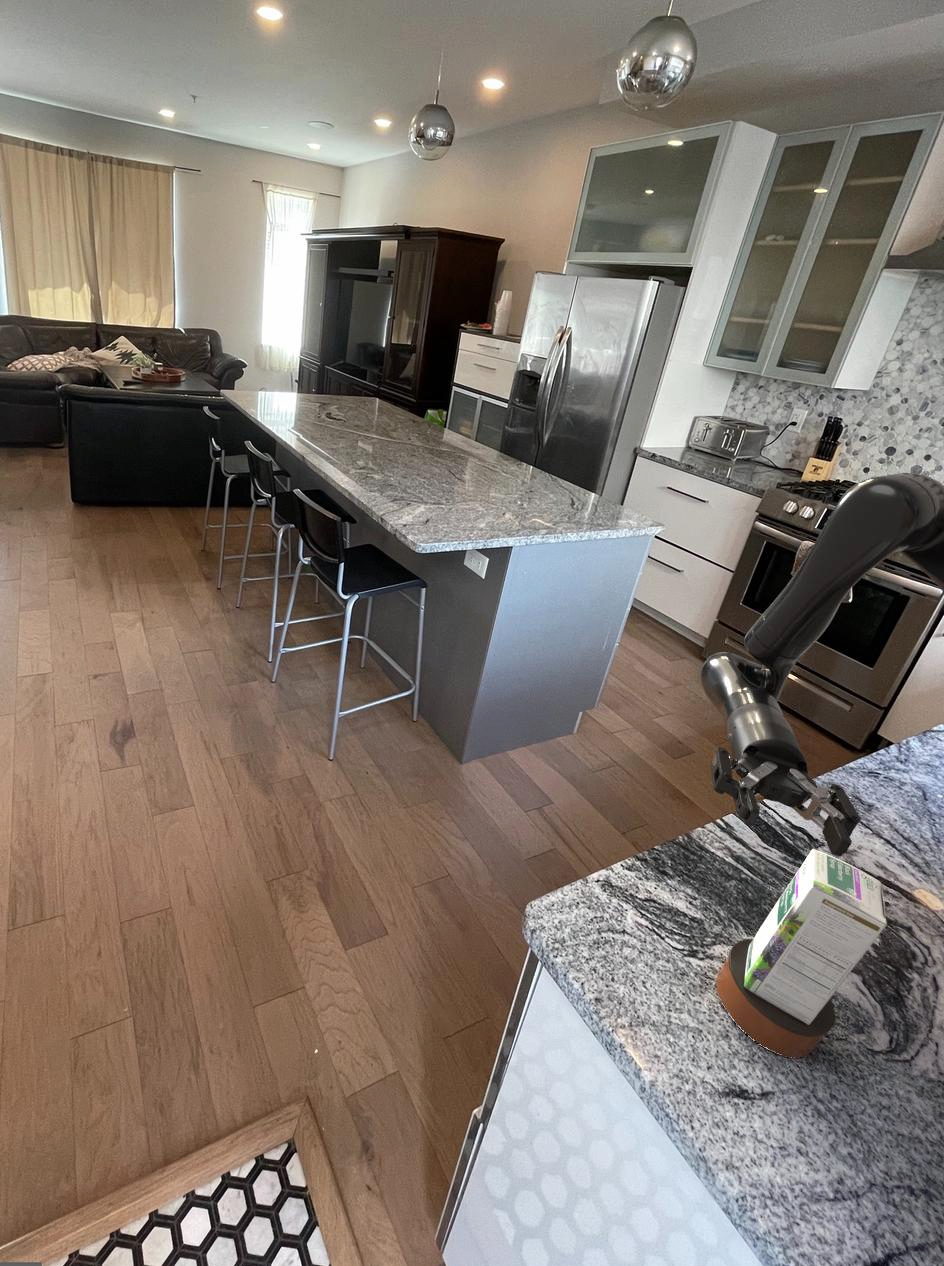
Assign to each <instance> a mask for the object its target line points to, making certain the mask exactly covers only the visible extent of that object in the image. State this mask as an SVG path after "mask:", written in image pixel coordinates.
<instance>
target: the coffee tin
mask: <svg viewBox="0 0 944 1266" xmlns="http://www.w3.org/2000/svg"><path fill="white" fill-rule="evenodd" d="M753 939H754V938H752V939H751V938H750V939H749V938H748V939H742V940H739V941H738V942H736V943H735V944H734V945H733V946H732V947H731V949H730V951H729V954H728V956H727V958H726V959H725V961H724V962H723V965H722V966H721V968H720V969H719V971H718V973H717V975H716V979H715V988H717V989H716V993H717V992H718V993H717V995H718V994H719V997H720V999H721V1001H722V1003H723V1005H724V1006H725V1008H726V1009H727V1010H728V1012H729V1013H730V1015H731V1016H732V1018H733V1019H734V1020H735V1022H736V1023H737V1025H739V1026H740V1027H741V1029H742V1030H744V1032H746V1034H747V1035H749V1036H750V1037H751V1038H752V1039H754V1040H755V1041H756V1042H757V1043H759V1044H761V1045H762V1046H764V1047H767V1048H768V1049H770V1050H773V1051H775V1052H776V1053H779V1054H782V1055H783V1056H787V1057H792V1058H791V1059H801V1058H800V1057H802V1058H805V1057H807V1056H809V1055H811V1053H812V1052H813V1051H814V1049H815V1048H816V1047H817V1045H819V1043H820V1041H822V1039H823V1038H824V1036H825V1035H827V1034H828V1033H829V1032H830V1031H831V1030H832V1028H833V1027H834V1025H835V1022H836V1012H835V1011H836V1010H835V1007H834V1003H833V1001H832V997H831V998H830V999H829V1001H828V1002H827V1003H826V1005H825V1006H824V1007H823V1008H822V1010H821V1011H820V1012H819V1013H818V1015H817V1016H816V1017H815V1019H814V1020H813V1021H812V1023H811V1024H810V1025H808V1024H806V1023H804V1022H802V1021H801V1020H799V1019H797V1018H795V1017H794V1016H792V1015H790V1014H789V1013H787V1012H785V1011H783V1010H782V1009H780V1008H778V1007H776V1006H775V1005H773V1004H771V1003H770V1002H768V1001H766V1000H765V999H763V998H761V997H759V996H758V995H756V994H754V993H753V992H751V991H749V990H748V989H746V988H745V986H744V981H745V970H746V962H747V955H748V949H749V945H750V944H751V942H752V941H753ZM716 986H717V987H716ZM719 997H718V998H719ZM720 999H719V1000H720ZM783 1056H782V1057H783ZM794 1057H795V1058H794Z"/></svg>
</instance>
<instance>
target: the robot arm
mask: <svg viewBox="0 0 944 1266" xmlns="http://www.w3.org/2000/svg"><path fill="white" fill-rule="evenodd" d="M897 552H899V553H900V554H901V555H903V556H904V557H906V558H907V559H908V560H909V561H911V562H912V563H913V564H914V565H915V566H916V567H917V568H919V569H920V570H921V571H922V572H923V573H925V574H926V575H927V576H928V577H929V578H930V579H931V580H932V581H933V582H934V583H935V584H936V585H937V586H938V587H939V588H940V590H941V591H942V592H943V593H944V484H943V483H941V482H940V481H938V480H937V479H934V478H932V477H931V476H928V475H925V474H921V473H917V472H899V473H892V474H886V475H878V476H874V477H870V478H866V479H864V480H861V481H859V482H857V483H856V484H854V485H852V486H851V487H850V488H848V489H847V490H846V491H845V492H844V493H843V495H842V496H841V497H840V499H839V501H837V503H836V505H835V507H834V509H833V510H832V512H831V513H830V515H829V517H828V519H827V521H826V522H825V524H824V526H823V528H822V530H821V532H820V533H819V535H818V536H817V539H816V541H815V542H814V544H813V545H812V547H811V549H810V550H809V552H808V554H807V555H806V556H805V558H804V560H803V561H802V563H801V565H800V566H799V568H798V569H797V570H796V572H795V574H794V575H793V576H792V578H791V579H790V580H789V582H788V583H787V585H786V586H785V587H784V588H783V590H782V591H781V592H780V593H779V594H778V595H777V597H776V598H775V599H774V600H773V602H772V603H771V604H770V605H769V606H768V607H767V609H766V610H765V611H764V612H762V614H761V615H760V617H759V618H758V619H757V620H756V622H755V623H754V624H753V625H752V627H751V628H750V629H749V630H748V632H747V633H746V635H745V636H744V639H743V644H744V648H745V650H746V651H747V652H748V654H749V655H750V656H751V657H752V658H754V660H756V661H757V662H759V663H760V664H759V663H757V662H754V661H752V660H750V659H747V658H745V657H742V656H740V655H737V654H735V653H732V652H728V651H720V652H716V653H714V654H712V655H710V656H709V657H707V659H706V660H705V661H704V663H703V665H702V667H701V670H700V684H701V688H702V690H703V692H704V695H705V696H706V697H707V698H708V699H709V701H710V702H711V704H712V705H713V706H714V707H715V709H716V710H717V711H718V712H719V713H720V714H721V715H722V716H723V720H724V723H725V726H726V729H727V730H726V734H727V741H728V744H729V748H730V751H731V755H732V756H730V755H729V753H730V752H729V751H728V750H727V749H725V748H723V747H717V749H716V751H715V752H714V755H713V757H712V759H711V761H710V763H709V765H710V773H711V782H712V789H713V790H714V792H716V793H717V794H720V795H724V794H727V795H729V796H730V799H731V801H732V802H734V805H735V809H736V813H737V816H739V818H741V819H742V820H743V823H744V825H747V826H749V827H754V825H755V823H756V822H757V820H758V818H759V816H760V809H759V805H758V802H757V798H756V797H757V796H761V797H763V799H765V800H767V801H771V802H775V803H779V804H781V805H784V806H785V807H789V808H791V809H792V810H793V811H795V812H796V813H797V814H798V815H799V816H800V817H802V818H803V819H804V820H806V821H812V822H813V823H814V824H815V825H817V826H818V827H819V828H820V829H821V833H822V835H823V837H824V840H825V842H826V845H827V847H828V850H829V852H830V854H831V855H832V856H833V855H834V856H836V857H839V858H841V857H842V856H843V855H844V854H846V853H847V852H848V850H849V848H850V847H851V845H852V843H853V840H852V839H851V835H853V832H854V830H855V829H856V827H857V826H858V824H860V822H861V821H862V818H861V817H860V815H859V813H858V811H857V810H856V808H855V807H854V805H853V803H852V801H851V800H850V798H849V796H848V795H847V792H846V791H845V789H844V788H843V787H842V786H840V785H839V784H837V783H832V784H831V785H830V786H829V787H825V786H821V785H819V784H817V782H816V781H815V780H814V779H813V778H811V776H810V775H809V770H808V763H807V758H806V756H805V755H804V752H803V750H802V748H801V745H800V742H799V741H798V738H797V737H796V735H795V732H794V730H793V728H792V726H791V724H790V722H788V720H787V719H786V718H785V716H784V714H783V710H782V709H781V706H780V705H779V702H778V701H779V699H780V697H781V694H782V692H783V689H784V688H785V684H786V682H787V680H788V678H789V676H790V674H791V671H792V670H793V668H794V667H795V665H796V663H797V662H798V661H799V659H800V658H801V657H803V655H804V654H805V653H806V652H807V651H808V650H809V649H810V648H811V646H813V645H814V644H815V643H816V642H817V641H818V640H819V638H820V637H821V636H822V635H823V633H824V632H825V631H826V629H827V628H828V627H829V625H830V624H831V623H832V620H833V619H834V617H835V615H836V613H837V612H838V609H839V607H840V605H841V603H842V602H843V600H844V598H845V597H846V596H847V594H849V593H850V590H851V589H852V588H853V587H854V586H855V585H856V584H857V583H858V582H859V581H860V580H861V579H862V578H863V577H864V576H865V575H866V574H868V573H869V572H870V571H871V570H872V569H874V568H875V567H876V566H878V564H880V563H881V562H883V561H884V560H885V559H887V558H888V557H889V556H891V555H892V554H893V553H897ZM733 770H734V771H735V773H736V775H737V776H738V777H739V778H741V779H739V780H736V779H735V778H733ZM809 800H811V801H810V803H809V804H808V806H807V807H806V806H805V805H804V804H805V803H806V802H807V801H809ZM822 811H823V812H824V813H826V814H827V816H826V818H824V817H823V816H822V815H821V812H822Z"/></svg>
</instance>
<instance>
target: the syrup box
mask: <svg viewBox="0 0 944 1266" xmlns="http://www.w3.org/2000/svg"><path fill="white" fill-rule="evenodd" d="M884 897H885V896H884V890H883V883H882V882H881V881H880V880H878V879H877V878H875V877H873V876H872V875H870V874H868V873H867V872H865V871H863V870H862V869H859V868H857V867H856V866H854V865H852V864H850V863H848V862H845V861H844V860H842V859H839V858H838V857H835V856H833V855H832V854H831V855H830V854H828V853H826V852H823V851H820V850H818V849H815V848H812V849H811V850H810V852H809V853H808V855H807V856H806V858H805V859H804V861H803V863H802V864H801V866H800V868H799V869H798V870H797V871H796V873H795V875H794V876H793V877H792V878H791V880H790V882H789V884H788V885H787V887H786V888H785V890H784V891H783V893H782V894H781V895H780V897H779V898H778V900H777V902H776V903H775V904H774V906H773V907H772V910H771V911H770V912H769V913H768V915H767V917H766V918H765V920H764V921H763V923H762V924H761V926H760V928H759V929H758V931H757V932H756V934H755V936H754V937H753V938H752V939H753V941H752V942H751V944H750V945H749V949H748V955H747V962H746V970H745V981H744V986H745V988H746V989H748V990H749V991H751V992H753V993H754V994H756V995H758V996H759V997H761V998H763V999H765V1000H766V1001H768V1002H770V1003H771V1004H773V1005H775V1006H776V1007H778V1008H780V1009H782V1010H783V1011H785V1012H787V1013H789V1014H790V1015H792V1016H794V1017H795V1018H797V1019H799V1020H801V1021H802V1022H804V1023H806V1024H808V1025H810V1024H811V1023H812V1021H813V1020H814V1019H815V1017H816V1016H817V1015H818V1013H819V1012H820V1011H821V1010H822V1008H823V1007H824V1006H825V1005H826V1003H827V1002H828V1001H829V999H830V998H831V999H832V997H833V996H834V994H835V993H836V991H837V990H838V989H839V987H841V985H842V984H843V983H844V982H845V980H846V979H847V977H848V976H849V974H850V973H851V972H852V971H853V970H854V968H855V967H856V966H857V965H858V963H859V962H860V961H861V960H862V958H863V957H864V956H865V955H866V953H867V952H868V950H869V949H870V947H871V946H872V945H873V944H874V943H875V941H876V940H877V938H878V937H879V936H880V935H881V933H882V932H883V931H884V929H885V928H886V927H887V924H888V923H887V919H886V904H885V898H884Z"/></svg>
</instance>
